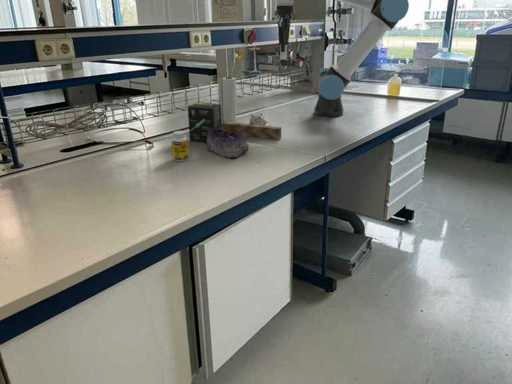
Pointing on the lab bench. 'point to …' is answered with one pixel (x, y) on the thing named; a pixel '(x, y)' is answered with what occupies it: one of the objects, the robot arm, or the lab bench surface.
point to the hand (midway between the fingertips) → (283, 59)
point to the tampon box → (203, 120)
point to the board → (253, 130)
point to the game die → (257, 120)
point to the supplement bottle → (179, 146)
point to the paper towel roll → (227, 99)
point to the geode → (226, 142)
